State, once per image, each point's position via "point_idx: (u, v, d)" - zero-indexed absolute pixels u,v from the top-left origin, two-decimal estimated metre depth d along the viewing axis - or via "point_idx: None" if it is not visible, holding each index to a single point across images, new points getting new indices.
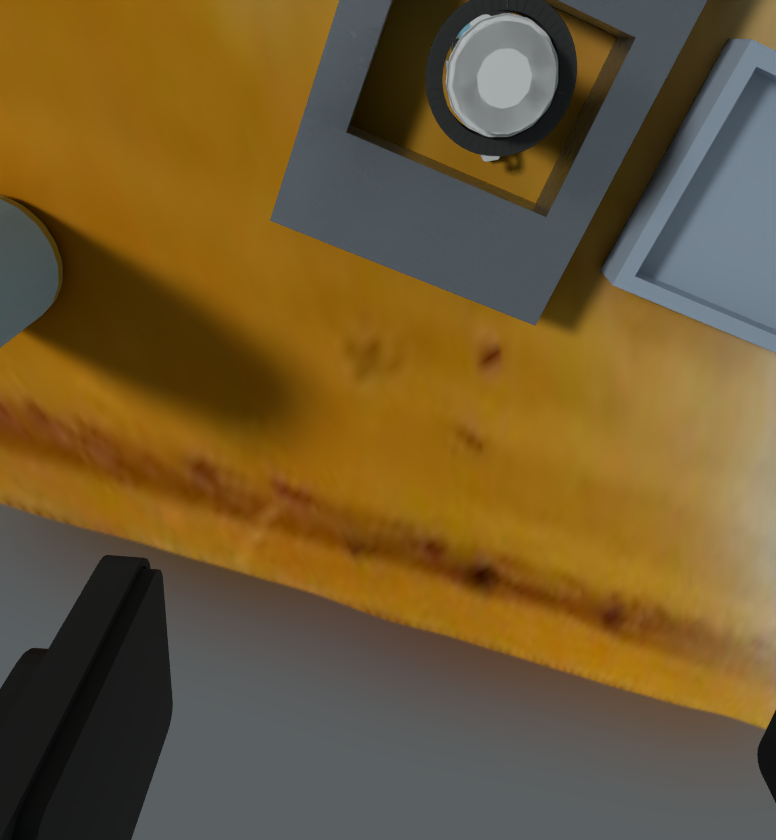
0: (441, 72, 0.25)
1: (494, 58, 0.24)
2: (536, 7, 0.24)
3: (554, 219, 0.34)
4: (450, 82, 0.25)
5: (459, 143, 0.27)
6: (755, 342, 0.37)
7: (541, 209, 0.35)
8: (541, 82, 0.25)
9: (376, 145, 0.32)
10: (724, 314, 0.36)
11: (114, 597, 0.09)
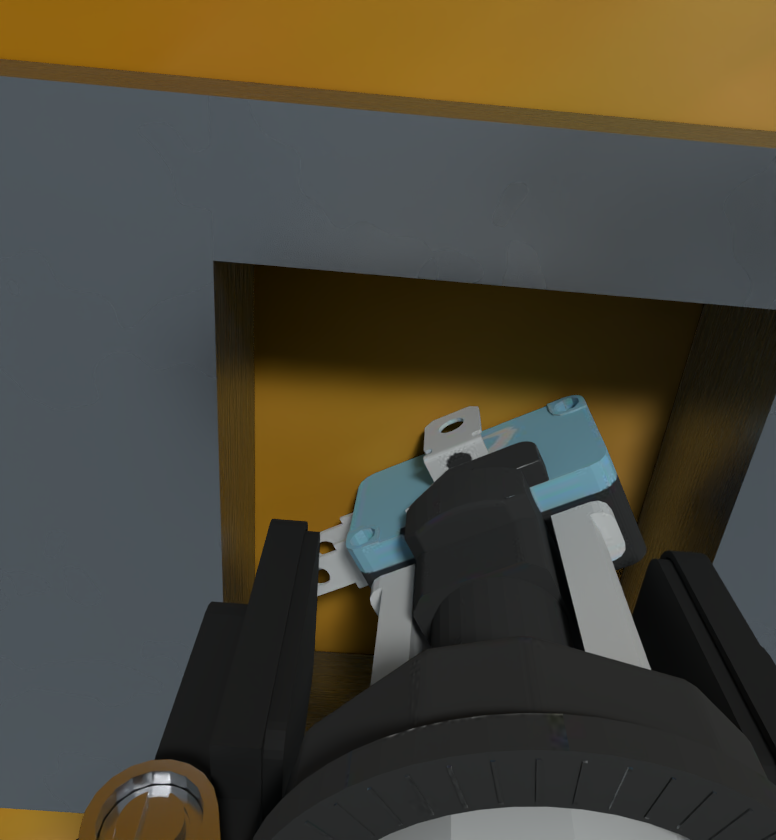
0: (495, 805, 0.05)
1: None
2: None
3: None
4: None
5: None
6: None
7: None
8: None
9: (216, 359, 0.10)
10: None
11: (292, 554, 0.10)
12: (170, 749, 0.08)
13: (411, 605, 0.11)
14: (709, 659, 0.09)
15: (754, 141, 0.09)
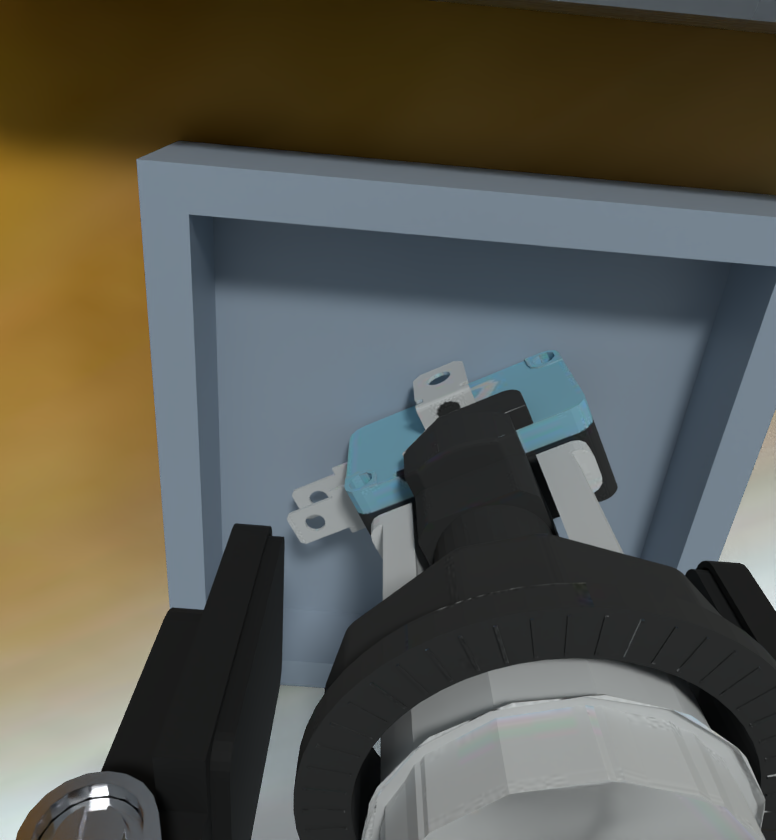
0: (531, 659, 0.06)
1: None
2: (772, 838, 0.08)
3: None
4: (508, 711, 0.06)
5: (306, 762, 0.07)
6: (171, 567, 0.15)
7: None
8: None
9: None
10: (199, 478, 0.14)
11: (252, 559, 0.09)
12: (118, 760, 0.08)
13: (413, 537, 0.12)
14: None
15: None
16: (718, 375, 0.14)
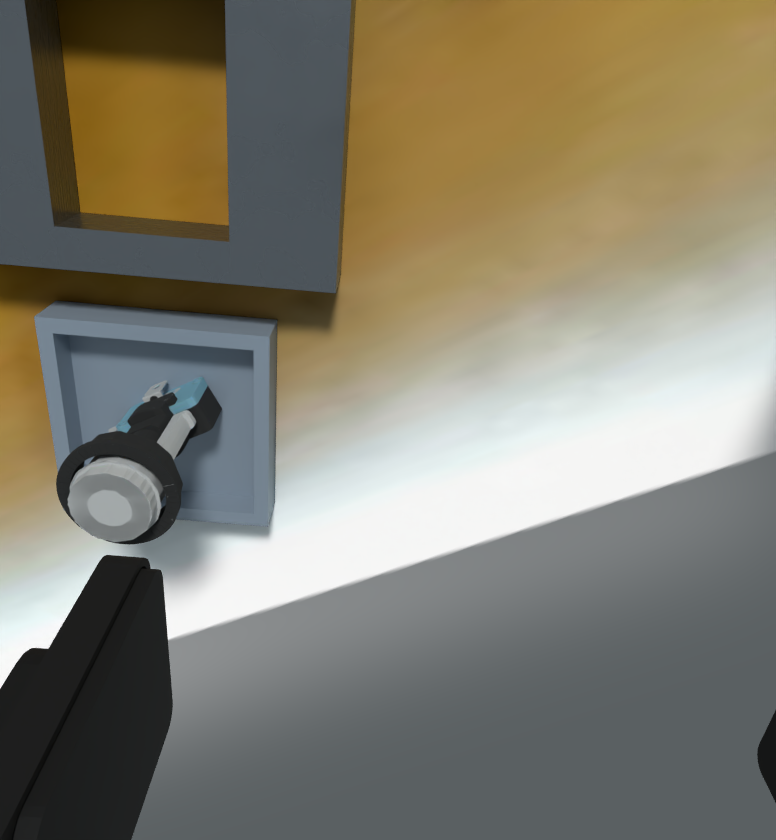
0: (100, 454, 0.30)
1: (119, 498, 0.30)
2: (172, 504, 0.32)
3: (56, 235, 0.33)
4: (94, 464, 0.30)
5: (58, 480, 0.31)
6: (57, 461, 0.39)
7: (68, 219, 0.34)
8: (120, 532, 0.31)
9: (26, 12, 0.29)
10: (65, 424, 0.38)
11: (114, 597, 0.09)
12: None
13: None
14: None
15: None
16: None
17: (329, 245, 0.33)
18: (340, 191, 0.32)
